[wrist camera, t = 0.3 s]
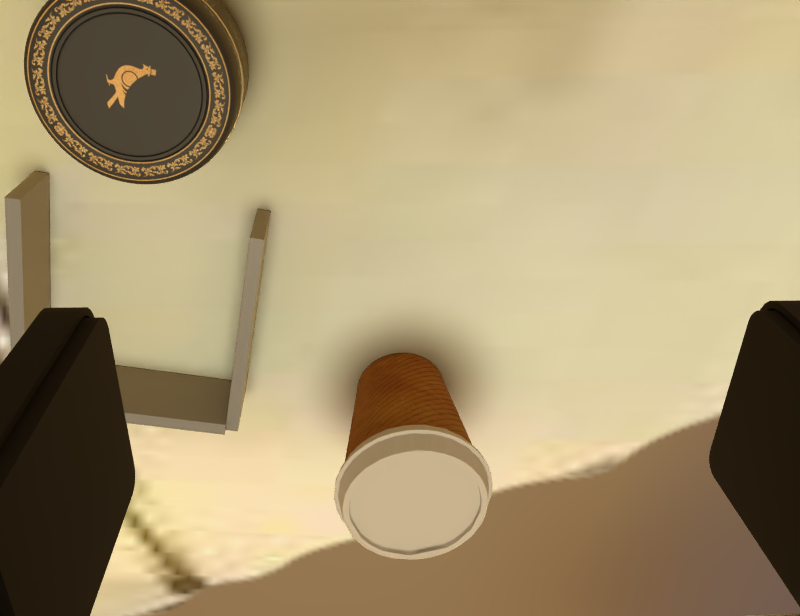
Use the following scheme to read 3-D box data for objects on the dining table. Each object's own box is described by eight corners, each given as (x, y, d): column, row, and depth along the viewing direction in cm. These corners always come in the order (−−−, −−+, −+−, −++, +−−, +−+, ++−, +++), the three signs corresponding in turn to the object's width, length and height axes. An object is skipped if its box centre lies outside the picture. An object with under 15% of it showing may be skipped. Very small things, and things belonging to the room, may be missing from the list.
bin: (35, 170, 43) (1, 200, 39) (270, 211, 46) (263, 243, 41) (39, 364, 50) (10, 408, 46) (245, 391, 52) (236, 436, 48)
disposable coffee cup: (320, 426, 54) (315, 551, 44) (356, 319, 50) (361, 428, 40) (440, 451, 56) (463, 576, 46) (484, 350, 52) (521, 462, 42)
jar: (48, 96, 42) (-8, 132, 35) (103, -78, 38) (53, -75, 31) (215, 173, 44) (193, 220, 38) (282, 18, 40) (271, 40, 34)
